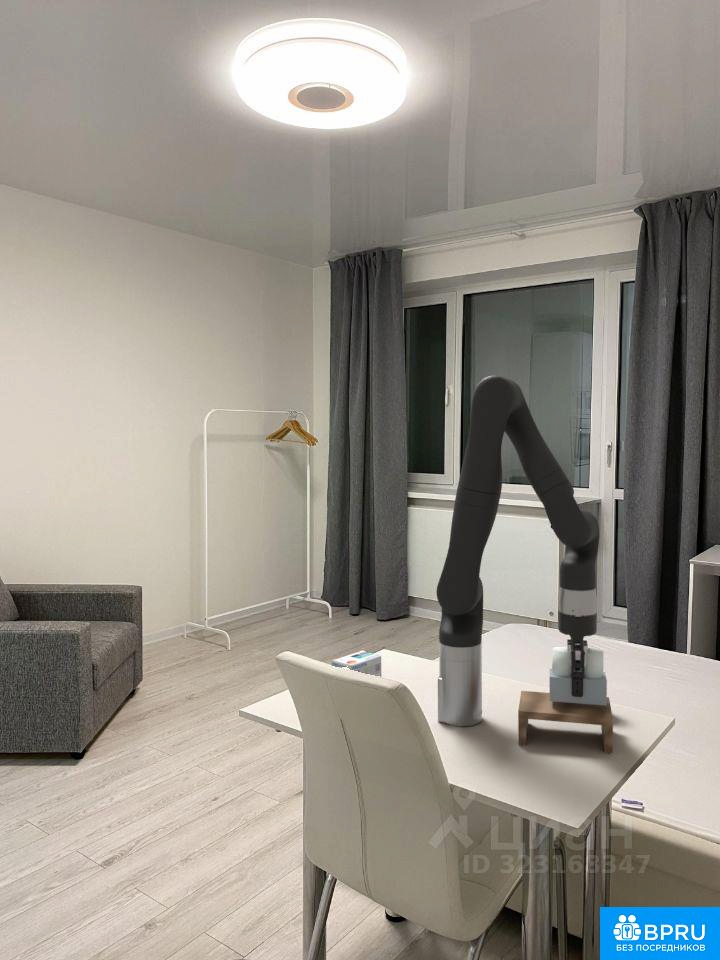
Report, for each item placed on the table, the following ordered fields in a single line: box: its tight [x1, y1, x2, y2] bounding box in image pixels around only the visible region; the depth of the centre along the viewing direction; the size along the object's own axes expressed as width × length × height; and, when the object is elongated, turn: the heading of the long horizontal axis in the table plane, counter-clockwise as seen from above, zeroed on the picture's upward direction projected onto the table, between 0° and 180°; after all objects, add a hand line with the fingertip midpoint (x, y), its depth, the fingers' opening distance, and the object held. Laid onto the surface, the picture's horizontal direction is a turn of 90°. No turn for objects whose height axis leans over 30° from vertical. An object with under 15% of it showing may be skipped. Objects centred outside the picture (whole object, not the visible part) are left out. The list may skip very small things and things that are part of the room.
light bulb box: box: [331, 650, 383, 677], centre depth 173 cm, size 11×7×11 cm, turn 136°
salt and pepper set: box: [549, 646, 608, 706], centre depth 150 cm, size 11×6×10 cm, turn 75°
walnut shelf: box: [517, 690, 614, 754], centre depth 151 cm, size 18×12×7 cm, turn 75°
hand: (576, 690), depth 150 cm, fingers closed on salt and pepper set, 5 cm apart
